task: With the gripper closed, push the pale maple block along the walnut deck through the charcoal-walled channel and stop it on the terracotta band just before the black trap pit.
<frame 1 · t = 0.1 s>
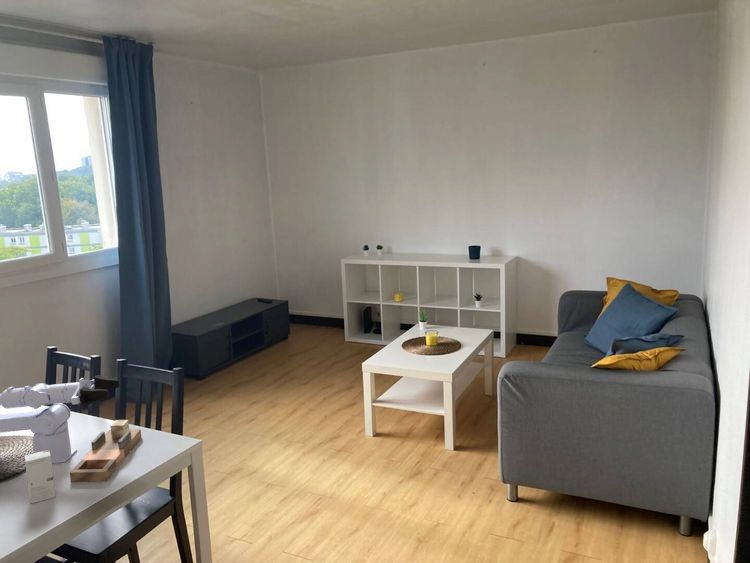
hand: (113, 388, 177), 22 cm above the table, tool horizontal, fingers open, 7 cm apart
skincare box: (43, 497, 160), on the table
maple block: (120, 434, 189), point 3 cm above the table, touching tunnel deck
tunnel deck: (113, 453, 183), on the table
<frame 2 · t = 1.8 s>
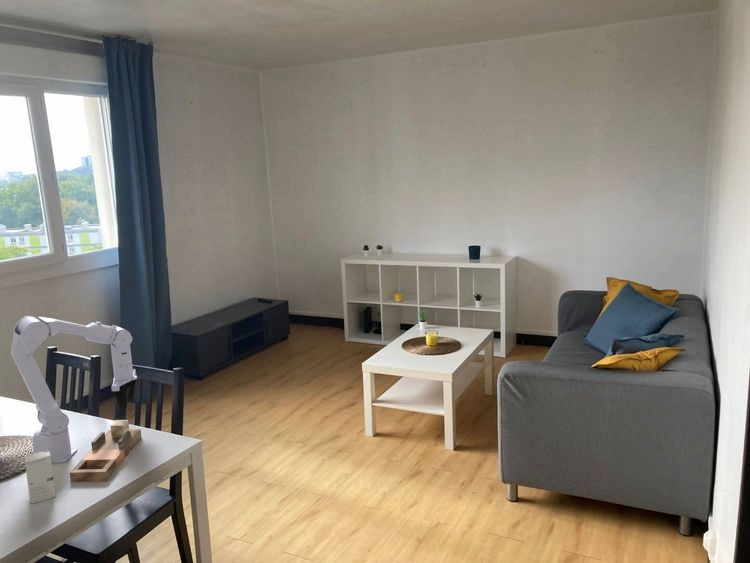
hand: (126, 403, 194), 10 cm above the table, tool pointing down, fingers open, 5 cm apart
nothing on the table moved.
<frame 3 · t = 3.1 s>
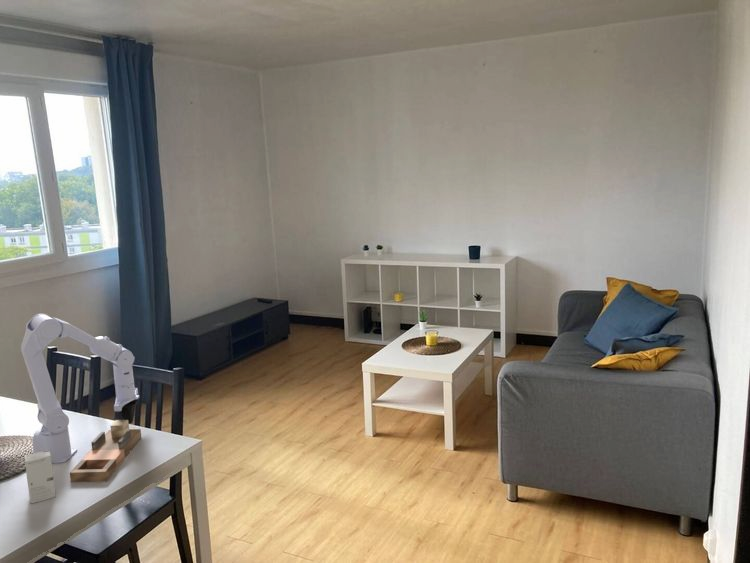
hand: (129, 422, 195), 4 cm above the table, tool pointing down, fingers closed
nothing on the table moved.
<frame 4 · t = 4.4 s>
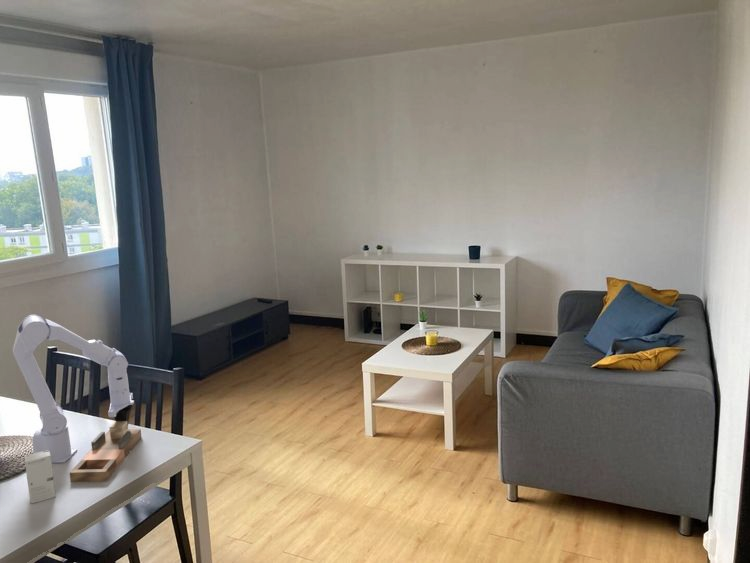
hand: (123, 428, 191), 4 cm above the table, tool pointing down, fingers closed
maple block: (119, 435, 188), point 3 cm above the table, touching gripper, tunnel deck
everything else where it was.
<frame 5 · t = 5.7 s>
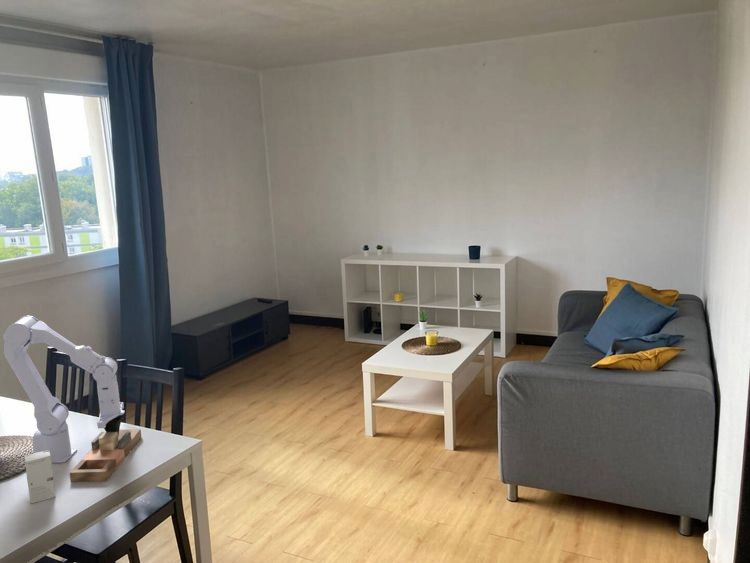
hand: (114, 439, 184), 4 cm above the table, tool pointing down, fingers closed
maple block: (109, 447, 180), point 3 cm above the table, touching gripper, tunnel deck
everything else where it was.
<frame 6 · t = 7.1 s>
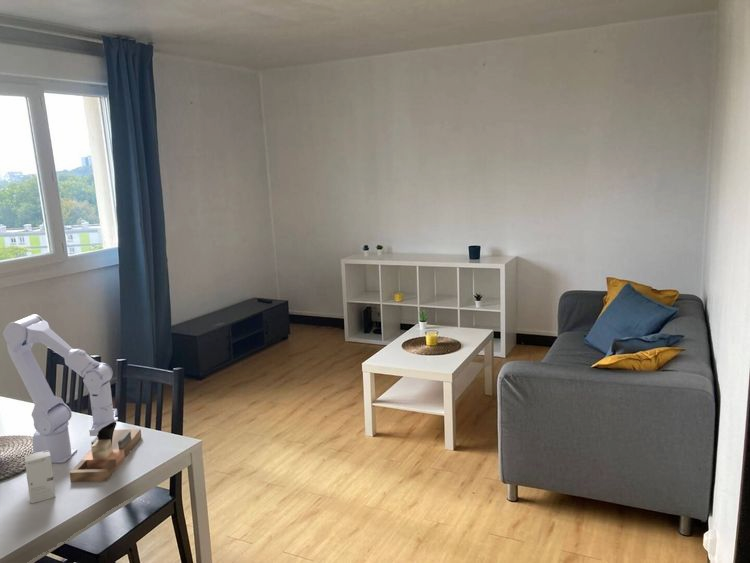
hand: (107, 447, 179), 4 cm above the table, tool pointing down, fingers closed
maple block: (102, 455, 176), point 3 cm above the table, touching gripper, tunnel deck
everything else where it was.
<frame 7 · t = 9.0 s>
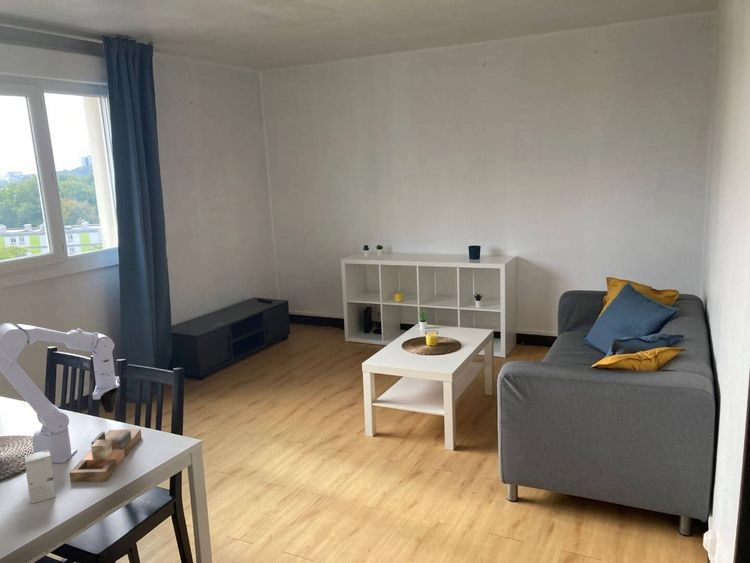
hand: (109, 411, 190), 9 cm above the table, tool pointing down, fingers closed
maple block: (102, 455, 176), point 3 cm above the table, touching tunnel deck
everything else where it was.
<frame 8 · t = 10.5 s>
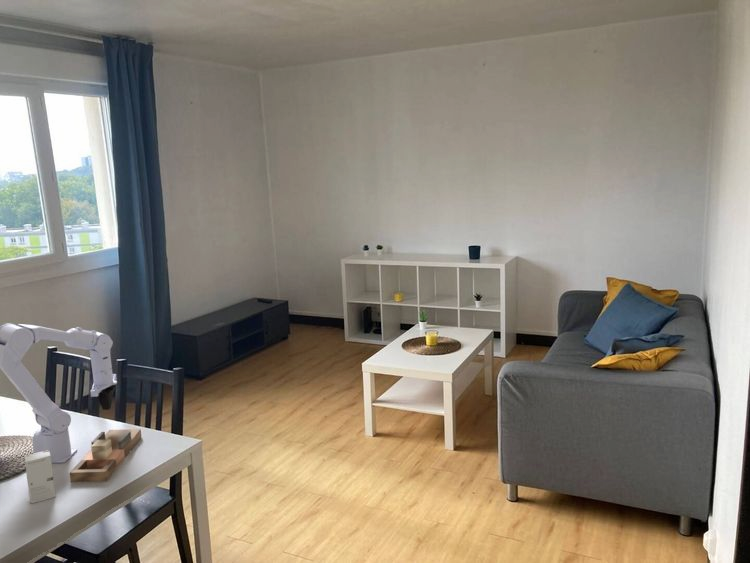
hand: (106, 408, 193), 9 cm above the table, tool pointing down, fingers closed
nothing on the table moved.
at the end: maple block 0.3 cm from the target spot, point 3.0 cm above the table; maple block tilted 0° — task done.
